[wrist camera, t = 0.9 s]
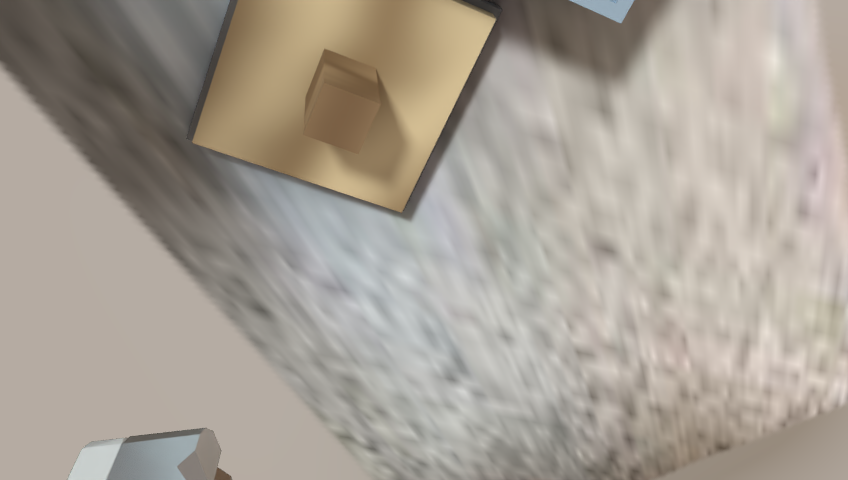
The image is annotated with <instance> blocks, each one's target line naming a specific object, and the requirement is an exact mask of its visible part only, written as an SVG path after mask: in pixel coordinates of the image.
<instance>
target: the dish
mask: <svg viewBox="0 0 848 480" xmlns="http://www.w3.org/2000/svg"><path fill="white" fill-rule="evenodd" d="M570 1H572V2H574V3H576V4H579V5H581V6H583V7H585V8H588V9H590V10H592V11H594V12H596V13H599V14H601V15H603V16H605V17H608V18H610V19H612V20H614V21H616V22H619V23H622V21H623V19H624V18H625V16H626V14H627V12H628V11H629V9H630V7H631V5H632V4H633V2H634V0H570Z"/></svg>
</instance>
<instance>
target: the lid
mask: <svg viewBox="0 0 848 480" xmlns="http://www.w3.org/2000/svg"><path fill="white" fill-rule="evenodd" d="M495 21H496V18H495V16H494V15H493V14H492V13H490V12H488V11H485V10H483V9H481V8H478V7H476V6H474V5H471V4H469V3H467V2H464V1H462V0H238V2H237V5H236V8H235V11H234V14H233V17H232V20H231V24H230V27H229V30H228V33H227V36H226V39H225V42H224V45H223V48H222V51H221V54H220V58H219V61H218V64H217V67H216V70H215V73H214V76H213V79H212V82H211V85H210V88H209V92H208V95H207V98H206V101H205V104H204V107H203V110H202V113H201V116H200V119H199V122H198V126H197V129H196V132H195V135H194V138H193V141H192V143H194V144H197V145H200V146H203V147H206V148H209V149H212V150H215V151H218V152H221V153H224V154H227V155H230V156H233V157H236V158H239V159H242V160H245V161H248V162H251V163H254V164H257V165H260V166H263V167H266V168H269V169H272V170H275V171H278V172H281V173H284V174H287V175H290V176H293V177H296V178H299V179H302V180H305V181H308V182H311V183H314V184H317V185H320V186H323V187H326V188H329V189H332V190H335V191H338V192H341V193H344V194H347V195H350V196H353V197H356V198H359V199H362V200H365V201H368V202H371V203H374V204H377V205H380V206H383V207H386V208H389V209H392V210H395V211H398V212H401V213H402V211H403V209H404V207H405V205H406V203H407V201H408V199H409V197H410V195H411V193H412V191H413V188H414V186H415V184H416V182H417V180H418V178H419V176H420V174H421V172H422V170H423V168H424V166H425V164H426V162H427V160H428V158H429V156H430V154H431V152H432V150H433V148H434V146H435V144H436V141H437V139H438V137H439V135H440V133H441V131H442V129H443V127H444V125H445V123H446V121H447V119H448V117H449V115H450V113H451V111H452V109H453V107H454V105H455V103H456V101H457V99H458V97H459V94H460V92H461V90H462V88H463V86H464V84H465V82H466V80H467V78H468V76H469V74H470V72H471V70H472V68H473V66H474V64H475V62H476V60H477V58H478V56H479V54H480V52H481V49H482V47H483V45H484V43H485V41H486V39H487V37H488V35H489V33H490V31H491V29H492V27H493V25H494V23H495Z"/></svg>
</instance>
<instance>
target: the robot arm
mask: <svg viewBox="0 0 848 480" xmlns="http://www.w3.org/2000/svg"><path fill="white" fill-rule="evenodd" d="M220 454H221V449H220V446H219V444H218V442H217V439H216V437H215V434H214V432H213V431H212V430H209V429H207V428H200V429H191V430H183V431H174V432H165V433H157V434H148V435H139V436H130V437H129V438H119V439H110V440H102V441H93V442H90V443H89V444H88V445H87V446H85V447H84V448H82V450H81V452H80V453H79V455H78V458H77V460H76V462H75V464H74V466H73V468H72V471H71V472H70V474H69V477H68V479H67V480H232V478H231V476H230V475H228V474H227V473H225V472H224V471H222V470H221V469H219V468H218V467H217V466H218V462H219V458H220Z"/></svg>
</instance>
